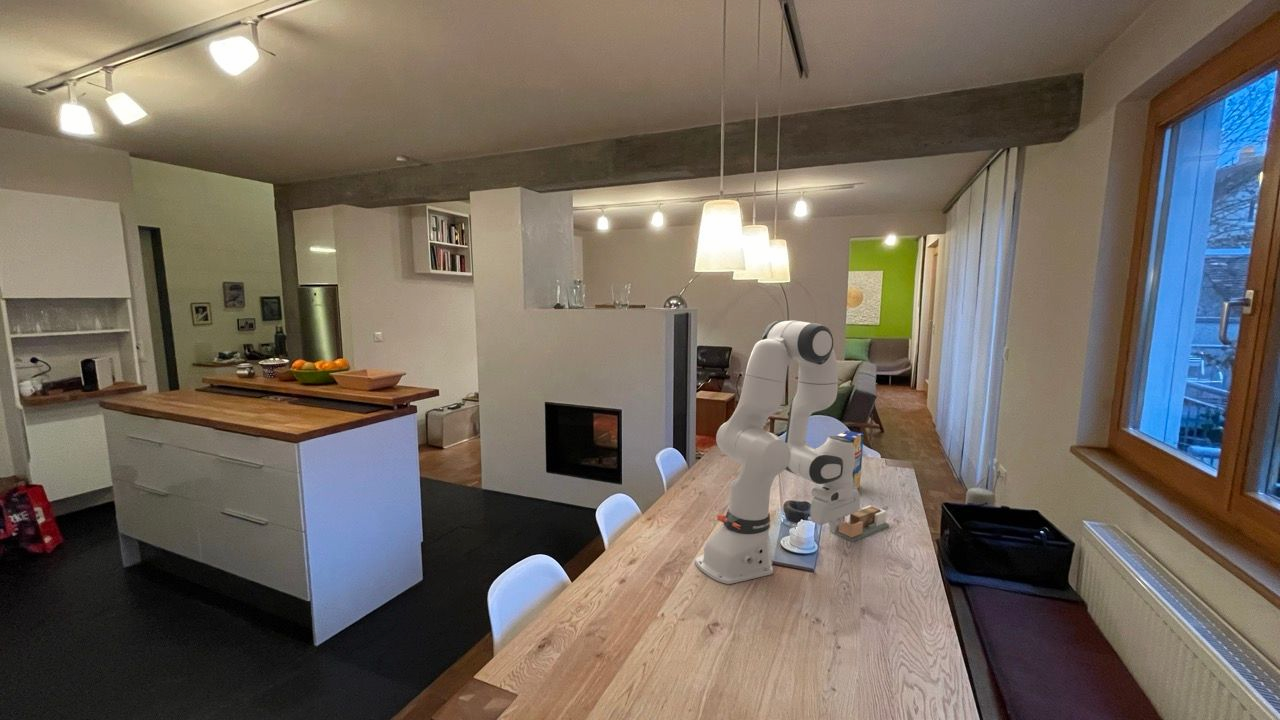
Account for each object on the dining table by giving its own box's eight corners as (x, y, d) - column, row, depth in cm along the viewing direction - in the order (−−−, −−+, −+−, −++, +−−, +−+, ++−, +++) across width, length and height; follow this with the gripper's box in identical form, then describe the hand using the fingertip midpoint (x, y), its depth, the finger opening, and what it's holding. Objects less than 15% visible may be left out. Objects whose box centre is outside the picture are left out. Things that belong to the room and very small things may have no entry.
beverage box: (833, 489, 196) (836, 435, 193) (843, 481, 204) (846, 430, 202) (850, 493, 191) (854, 438, 189) (860, 486, 200) (863, 433, 197)
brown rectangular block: (858, 530, 157) (858, 517, 157) (849, 527, 160) (850, 514, 159) (879, 522, 164) (880, 509, 163) (870, 518, 166) (871, 506, 166)
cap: (851, 537, 152) (852, 526, 152) (831, 528, 158) (832, 517, 158) (862, 533, 155) (863, 522, 155) (842, 524, 161) (842, 513, 161)
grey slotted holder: (852, 542, 152) (853, 526, 151) (830, 531, 159) (831, 517, 158) (888, 526, 163) (889, 512, 162) (866, 517, 169) (867, 504, 169)
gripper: (848, 478, 160) (845, 519, 161) (807, 491, 148) (805, 534, 150) (866, 484, 154) (863, 526, 156) (825, 498, 143) (823, 543, 145)
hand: (834, 530), depth 153 cm, fingers closed
